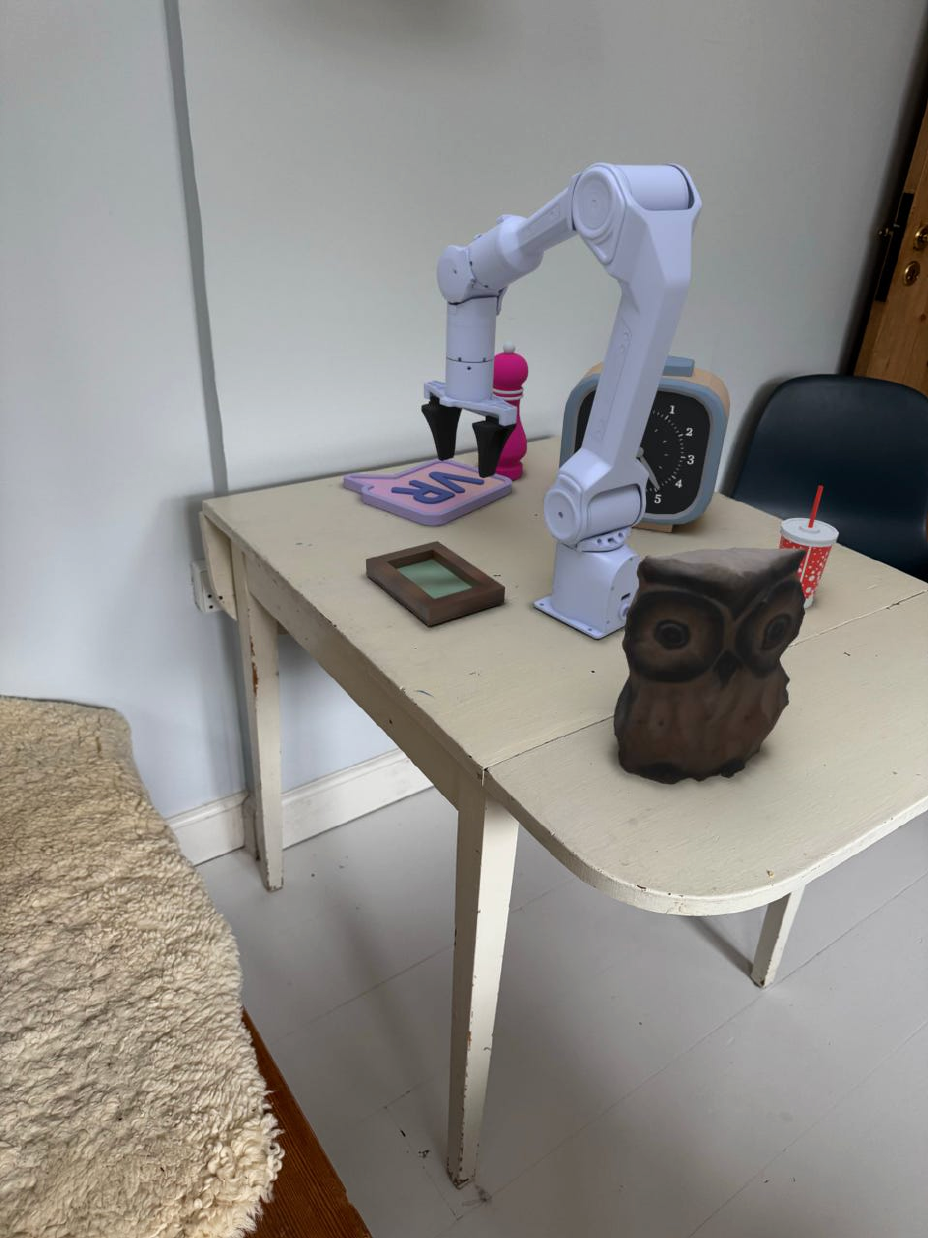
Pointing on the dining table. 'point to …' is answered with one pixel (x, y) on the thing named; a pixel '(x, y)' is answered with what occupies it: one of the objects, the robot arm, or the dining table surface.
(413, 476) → the icon
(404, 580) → the frame
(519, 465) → the pepper mill
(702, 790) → the dining table surface
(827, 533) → the beverage cup
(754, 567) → the owl
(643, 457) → the alarm clock
